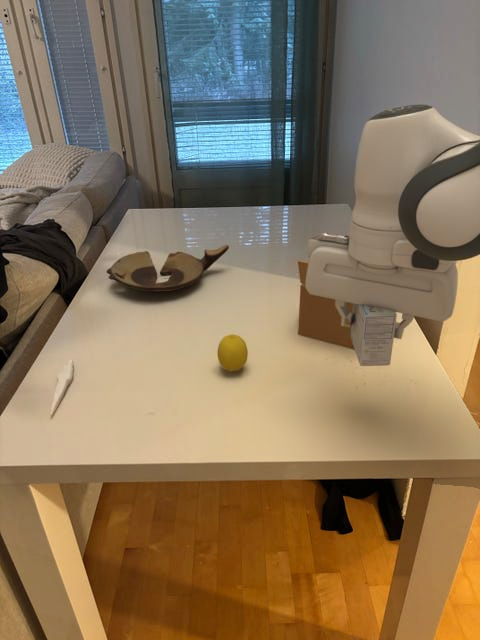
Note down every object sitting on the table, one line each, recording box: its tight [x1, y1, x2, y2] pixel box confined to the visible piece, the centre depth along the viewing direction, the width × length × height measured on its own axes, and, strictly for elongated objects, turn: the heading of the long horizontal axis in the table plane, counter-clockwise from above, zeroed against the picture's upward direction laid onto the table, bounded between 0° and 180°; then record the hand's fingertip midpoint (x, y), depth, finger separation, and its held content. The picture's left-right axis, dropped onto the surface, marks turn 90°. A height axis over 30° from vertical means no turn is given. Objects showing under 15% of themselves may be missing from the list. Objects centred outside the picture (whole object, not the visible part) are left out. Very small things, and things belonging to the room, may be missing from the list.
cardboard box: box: [297, 283, 355, 350], centre depth 96 cm, size 14×12×12 cm
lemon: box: [217, 333, 249, 372], centre depth 85 cm, size 6×6×8 cm
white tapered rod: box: [49, 358, 75, 416], centre depth 83 cm, size 15×3×2 cm, turn 5°
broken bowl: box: [106, 244, 230, 292], centre depth 117 cm, size 22×30×8 cm
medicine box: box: [350, 303, 398, 367], centre depth 68 cm, size 8×4×9 cm, turn 179°
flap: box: [297, 259, 309, 285], centre depth 86 cm, size 14×6×1 cm
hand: (371, 330), depth 68 cm, fingers closed on medicine box, 6 cm apart
